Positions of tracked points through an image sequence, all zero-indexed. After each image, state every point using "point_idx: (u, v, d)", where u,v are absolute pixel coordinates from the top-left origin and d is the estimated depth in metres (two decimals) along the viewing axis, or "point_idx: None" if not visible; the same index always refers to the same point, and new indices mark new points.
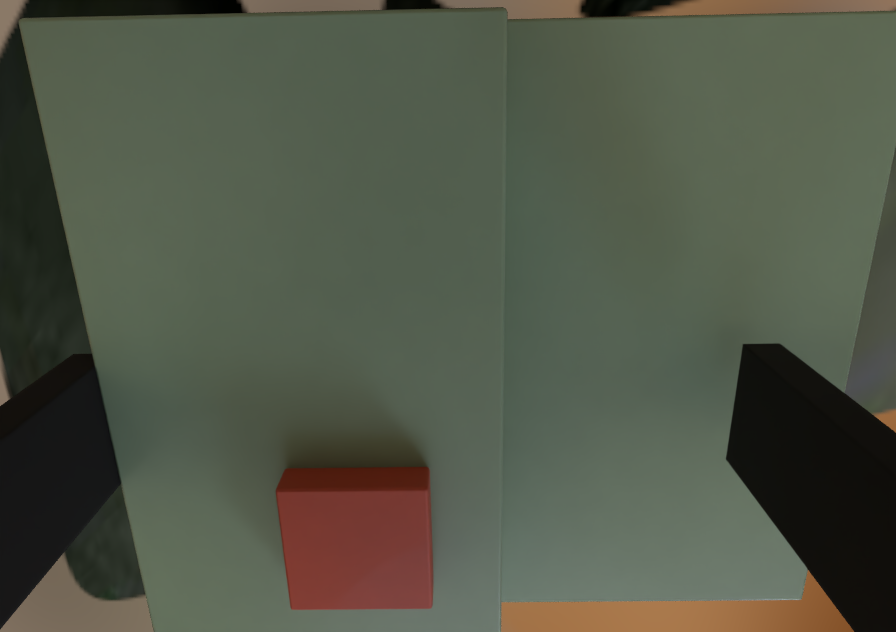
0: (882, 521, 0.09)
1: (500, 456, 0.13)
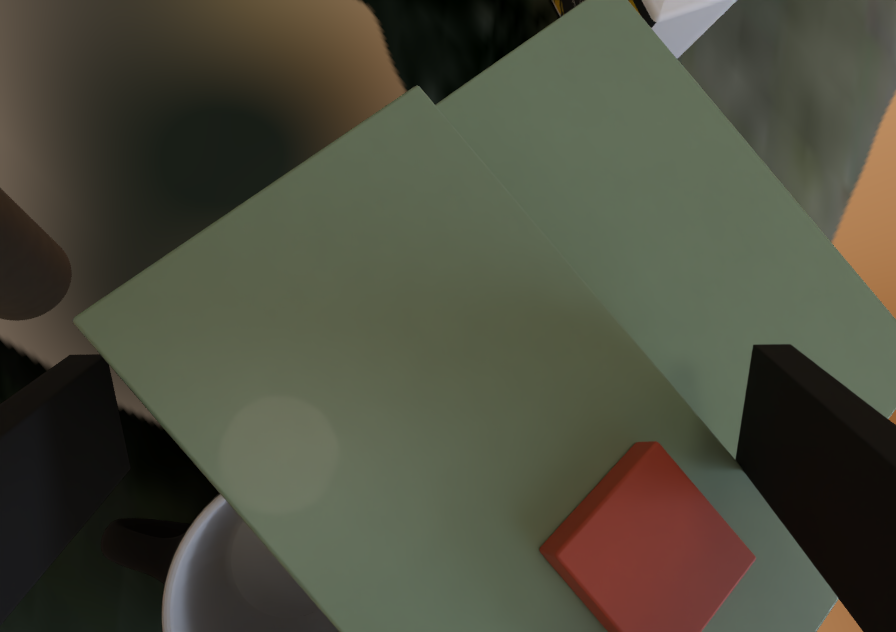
0: (894, 524, 0.09)
1: (672, 387, 0.14)
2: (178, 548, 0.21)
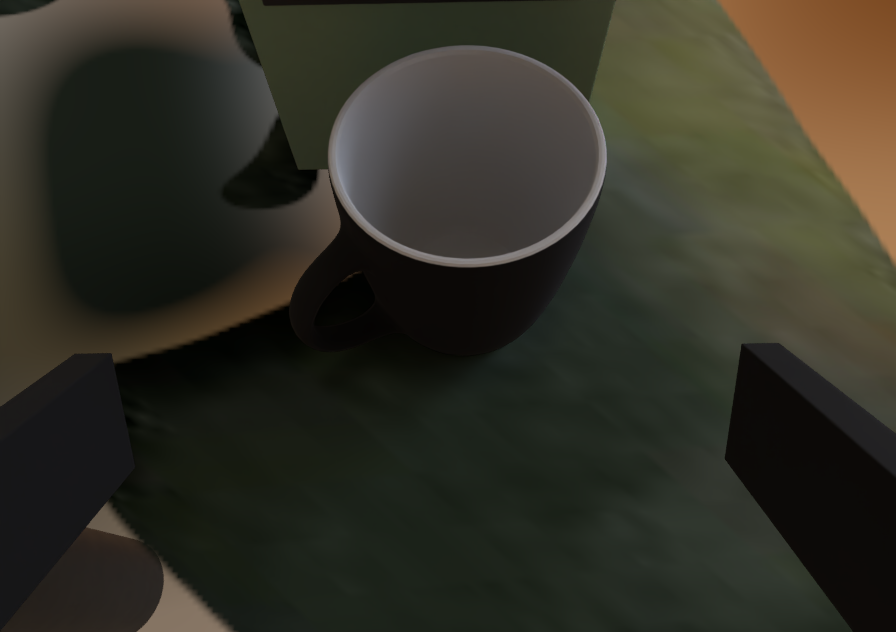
0: (880, 521, 0.09)
1: None
2: (339, 197, 0.20)
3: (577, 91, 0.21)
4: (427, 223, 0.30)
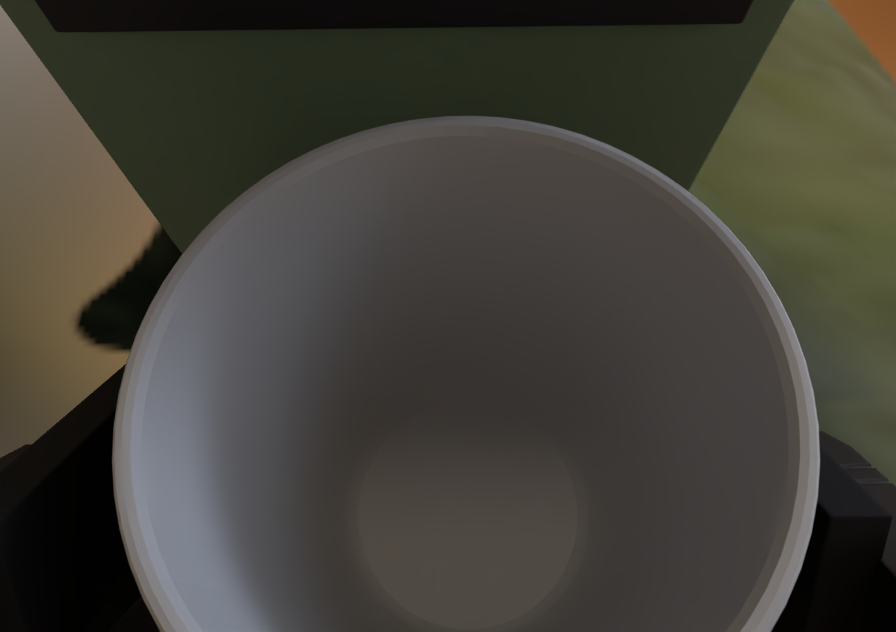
0: None
1: None
2: (124, 541, 0.07)
3: (720, 225, 0.09)
4: (404, 393, 0.17)
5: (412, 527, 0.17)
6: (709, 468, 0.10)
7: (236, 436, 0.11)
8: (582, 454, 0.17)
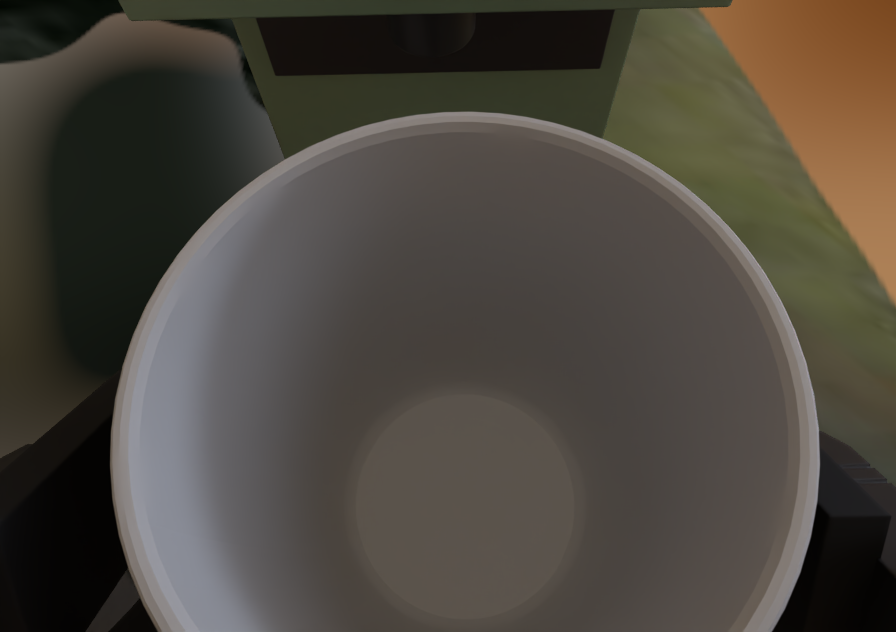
0: None
1: None
2: (123, 547, 0.07)
3: (721, 225, 0.09)
4: (401, 385, 0.17)
5: (410, 518, 0.17)
6: (707, 466, 0.10)
7: (234, 434, 0.11)
8: (579, 446, 0.17)
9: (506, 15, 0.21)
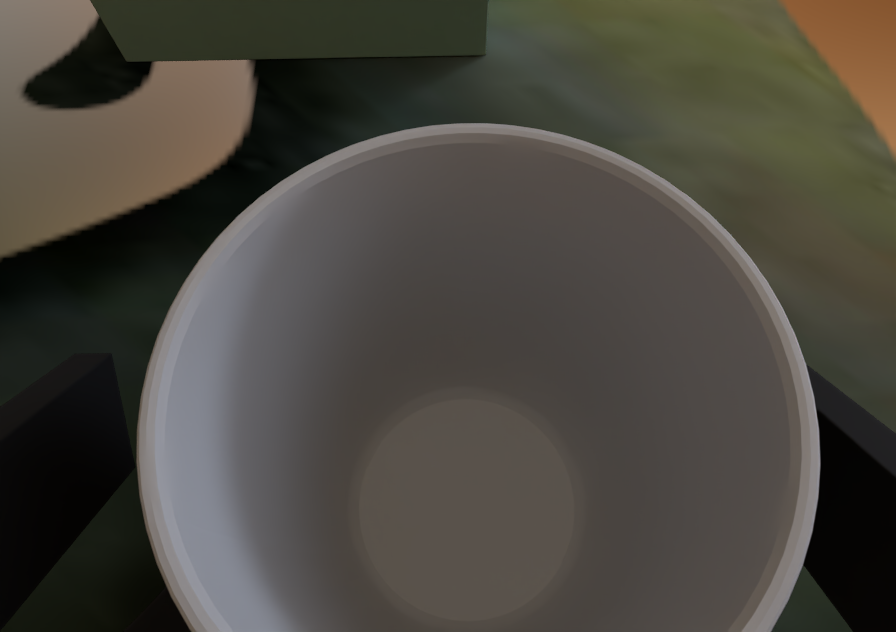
0: (880, 521, 0.09)
1: None
2: (151, 540, 0.08)
3: (725, 234, 0.09)
4: (405, 390, 0.18)
5: (412, 521, 0.17)
6: (709, 467, 0.11)
7: (247, 435, 0.12)
8: (579, 450, 0.17)
9: None
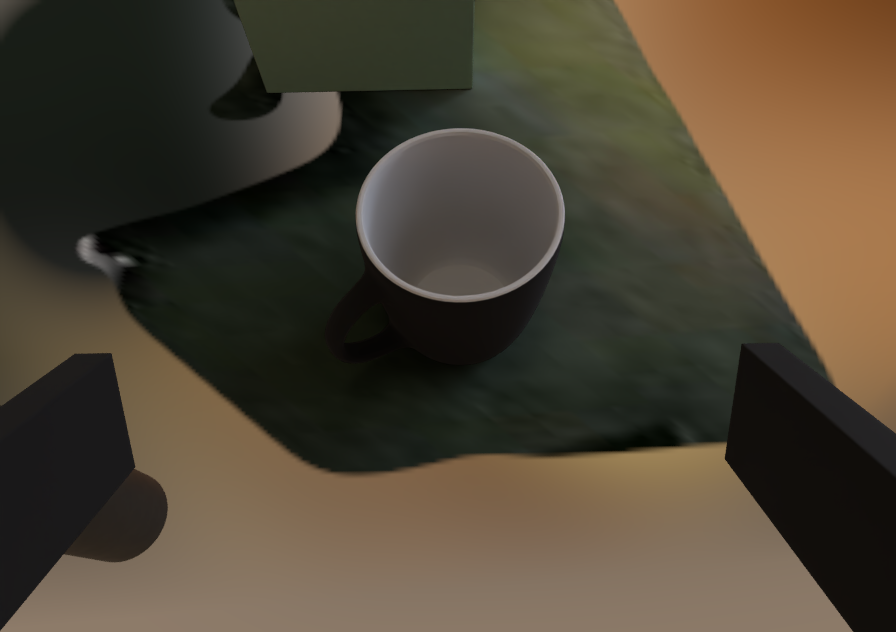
0: (880, 521, 0.09)
1: None
2: (365, 250, 0.26)
3: (543, 165, 0.28)
4: (430, 257, 0.36)
5: None
6: None
7: (374, 247, 0.30)
8: None
9: None
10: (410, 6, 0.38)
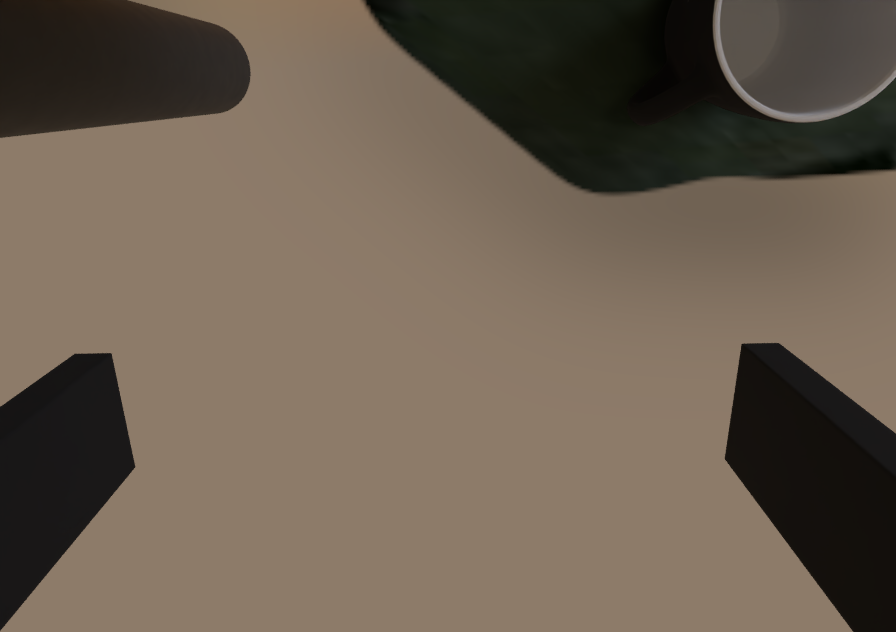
0: (880, 521, 0.09)
1: None
2: (720, 62, 0.27)
3: None
4: None
5: None
6: (874, 28, 0.29)
7: None
8: (791, 2, 0.34)
9: None
10: None
